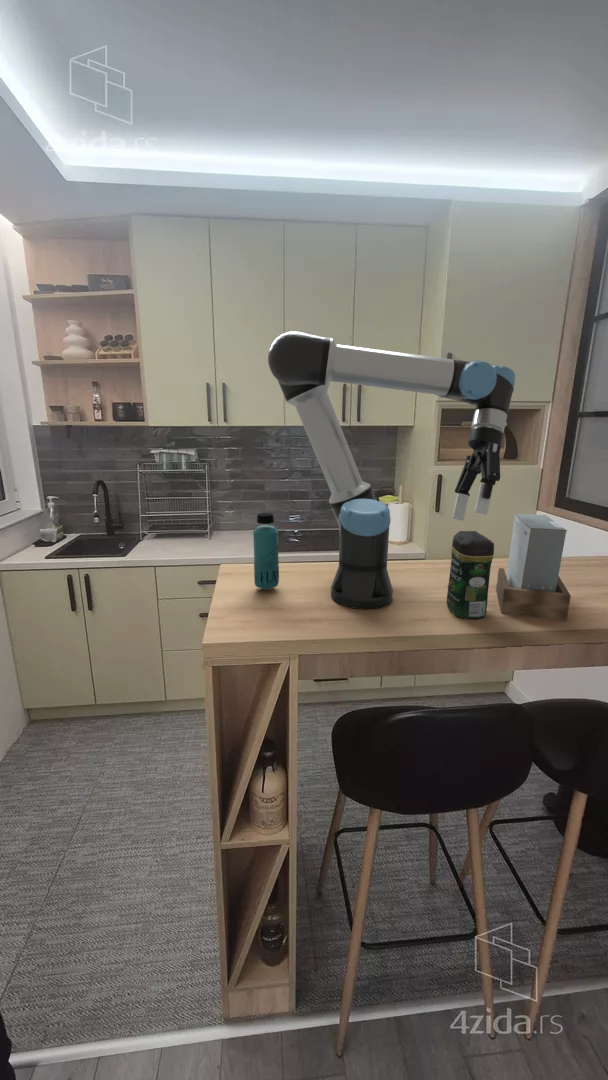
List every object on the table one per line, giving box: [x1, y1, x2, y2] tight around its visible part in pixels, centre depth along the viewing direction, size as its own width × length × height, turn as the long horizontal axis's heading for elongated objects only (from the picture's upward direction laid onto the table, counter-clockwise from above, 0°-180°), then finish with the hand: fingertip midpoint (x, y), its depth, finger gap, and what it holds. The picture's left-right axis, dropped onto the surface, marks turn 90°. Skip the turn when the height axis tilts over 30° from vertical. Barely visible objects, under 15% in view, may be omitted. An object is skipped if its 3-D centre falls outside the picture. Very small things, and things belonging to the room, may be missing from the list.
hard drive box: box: [505, 513, 568, 592], centre depth 110 cm, size 16×8×20 cm, turn 168°
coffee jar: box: [446, 530, 495, 620], centre depth 104 cm, size 10×8×19 cm
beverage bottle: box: [252, 512, 280, 590], centre depth 115 cm, size 6×7×20 cm
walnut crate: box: [495, 567, 572, 622], centre depth 109 cm, size 13×14×6 cm
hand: (468, 516), depth 110 cm, fingers open, 13 cm apart
